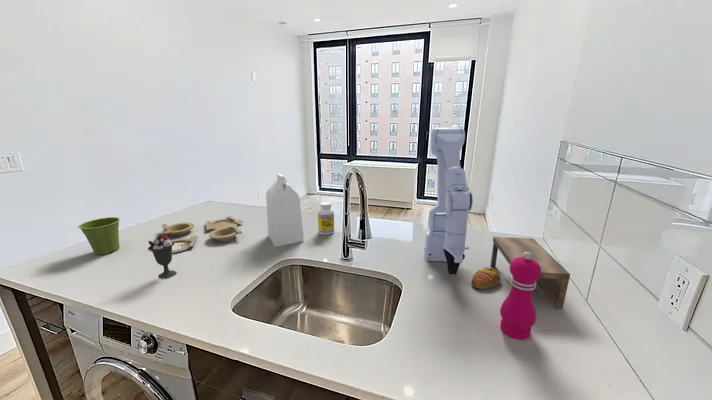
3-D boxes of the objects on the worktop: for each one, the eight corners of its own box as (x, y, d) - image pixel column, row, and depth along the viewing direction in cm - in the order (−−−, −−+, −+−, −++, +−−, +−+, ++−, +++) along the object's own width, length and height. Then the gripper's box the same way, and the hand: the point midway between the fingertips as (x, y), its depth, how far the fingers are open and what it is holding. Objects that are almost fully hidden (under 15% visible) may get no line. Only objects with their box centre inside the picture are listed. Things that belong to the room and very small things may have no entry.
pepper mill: (491, 321, 74) (502, 245, 68) (520, 319, 75) (533, 244, 69) (508, 342, 67) (522, 260, 61) (539, 340, 68) (555, 259, 62)
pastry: (486, 294, 85) (488, 282, 84) (464, 284, 90) (465, 273, 89) (502, 282, 91) (503, 271, 90) (480, 274, 96) (481, 263, 95)
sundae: (184, 271, 98) (176, 227, 94) (165, 282, 92) (156, 236, 88) (169, 268, 100) (160, 225, 96) (149, 278, 94) (139, 233, 90)
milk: (268, 235, 126) (262, 173, 118) (295, 230, 131) (291, 171, 123) (274, 246, 115) (268, 179, 108) (304, 240, 120) (300, 176, 113)
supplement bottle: (319, 236, 125) (318, 206, 121) (317, 230, 131) (316, 201, 127) (335, 234, 126) (334, 204, 123) (333, 228, 133) (332, 200, 129)
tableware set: (238, 218, 148) (237, 210, 147) (253, 239, 124) (252, 229, 122) (153, 233, 130) (151, 224, 129) (150, 260, 106) (148, 250, 105)
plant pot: (127, 241, 121) (120, 214, 118) (126, 252, 112) (119, 223, 108) (88, 249, 115) (80, 221, 112) (84, 261, 105) (75, 231, 102)
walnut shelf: (513, 305, 80) (518, 271, 77) (489, 264, 101) (493, 236, 98) (562, 308, 78) (570, 274, 75) (528, 266, 99) (533, 238, 96)
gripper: (476, 242, 80) (471, 287, 84) (465, 223, 94) (461, 262, 98) (448, 240, 81) (444, 285, 85) (441, 222, 95) (438, 261, 99)
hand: (451, 273), depth 92 cm, fingers closed
